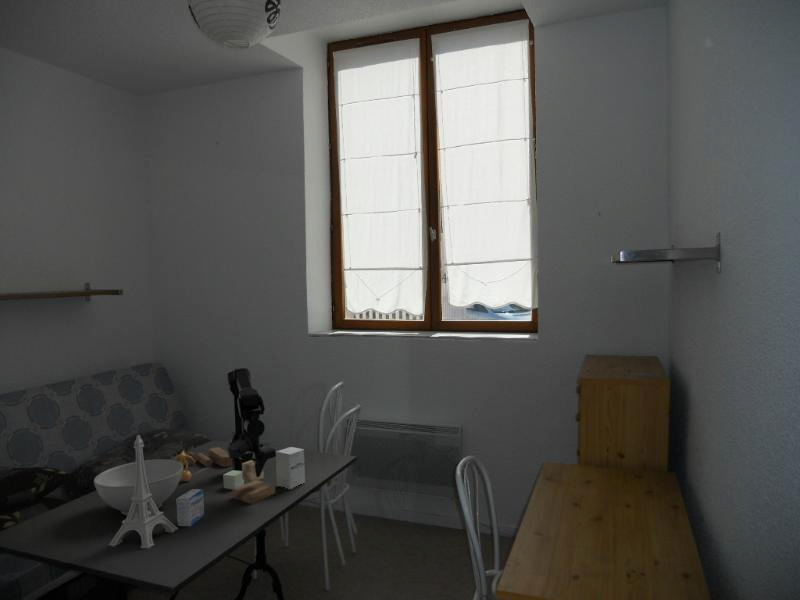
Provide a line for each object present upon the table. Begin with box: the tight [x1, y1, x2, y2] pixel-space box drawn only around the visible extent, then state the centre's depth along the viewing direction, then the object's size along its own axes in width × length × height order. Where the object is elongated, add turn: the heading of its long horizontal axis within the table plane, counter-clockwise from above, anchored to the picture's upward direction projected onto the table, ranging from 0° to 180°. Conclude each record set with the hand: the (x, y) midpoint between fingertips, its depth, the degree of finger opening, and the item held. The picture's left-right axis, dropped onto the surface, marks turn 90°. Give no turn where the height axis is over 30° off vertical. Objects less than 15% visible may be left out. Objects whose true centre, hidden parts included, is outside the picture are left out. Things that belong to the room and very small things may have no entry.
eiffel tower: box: [108, 434, 179, 548], centre depth 165 cm, size 13×13×30 cm
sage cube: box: [222, 469, 245, 490], centre depth 204 cm, size 5×5×5 cm
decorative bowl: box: [93, 458, 184, 516], centre depth 187 cm, size 27×27×12 cm
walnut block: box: [232, 480, 276, 505], centre depth 194 cm, size 10×10×4 cm
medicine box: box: [175, 488, 205, 527], centre depth 175 cm, size 8×4×9 cm, turn 168°
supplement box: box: [275, 446, 306, 490], centre depth 203 cm, size 7×7×13 cm
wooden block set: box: [177, 446, 233, 468], centre depth 230 cm, size 17×6×18 cm
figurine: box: [172, 450, 195, 483], centre depth 211 cm, size 8×6×12 cm
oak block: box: [242, 460, 265, 483], centre depth 194 cm, size 5×5×6 cm
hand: (253, 475), depth 194 cm, fingers closed on oak block, 5 cm apart
